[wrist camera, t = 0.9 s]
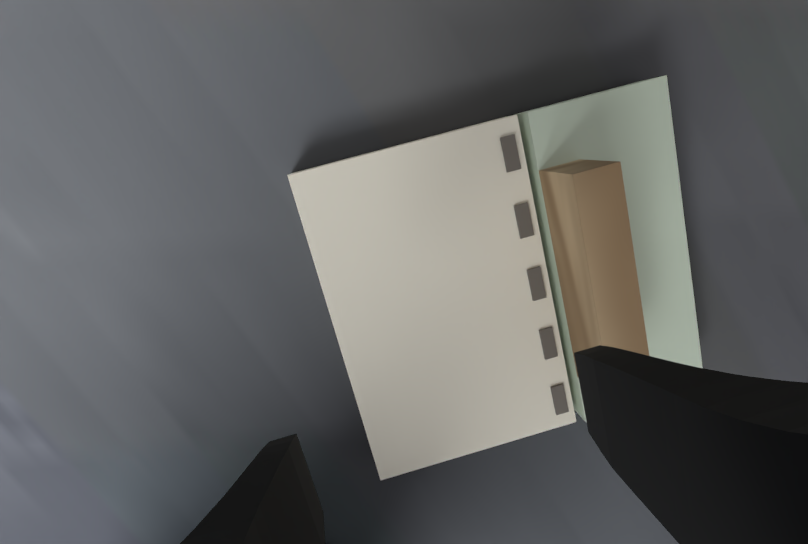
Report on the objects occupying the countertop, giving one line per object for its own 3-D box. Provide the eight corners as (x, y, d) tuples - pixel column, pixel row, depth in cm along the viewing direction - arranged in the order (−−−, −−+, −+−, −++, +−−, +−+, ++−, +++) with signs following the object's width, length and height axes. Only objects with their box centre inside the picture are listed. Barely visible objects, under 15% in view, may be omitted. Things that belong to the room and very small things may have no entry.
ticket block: (377, 458, 22) (380, 482, 21) (291, 173, 19) (286, 175, 18) (561, 404, 23) (577, 423, 21) (503, 116, 20) (518, 114, 18)
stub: (569, 404, 23) (622, 462, 18) (513, 114, 20) (560, 105, 15) (681, 371, 23) (758, 421, 19) (642, 80, 20) (723, 62, 16)
